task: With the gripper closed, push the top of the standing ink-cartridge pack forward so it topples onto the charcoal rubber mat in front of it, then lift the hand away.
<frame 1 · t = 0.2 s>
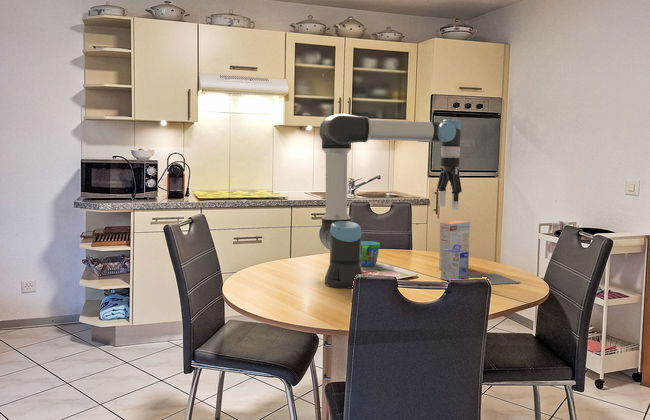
hand: (448, 207, 249), 28 cm above the table, fingers open, 13 cm apart
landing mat: (485, 279, 240), on the table
snack cup: (367, 265, 265), on the table
ink cartridge box: (453, 281, 237), on the table
cracker box: (453, 269, 261), on the table
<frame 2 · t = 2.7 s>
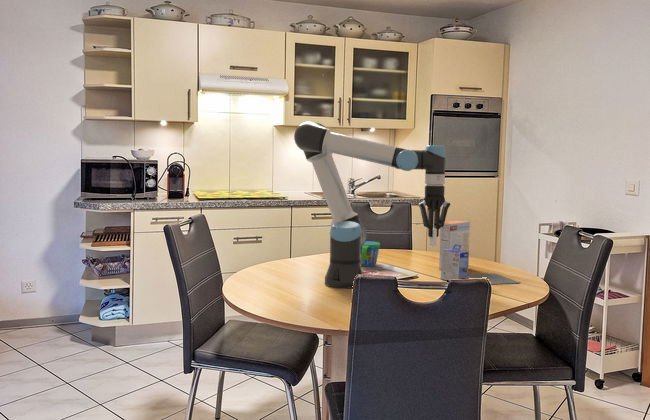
hand: (433, 245, 233), 15 cm above the table, fingers closed
nothing on the table moved.
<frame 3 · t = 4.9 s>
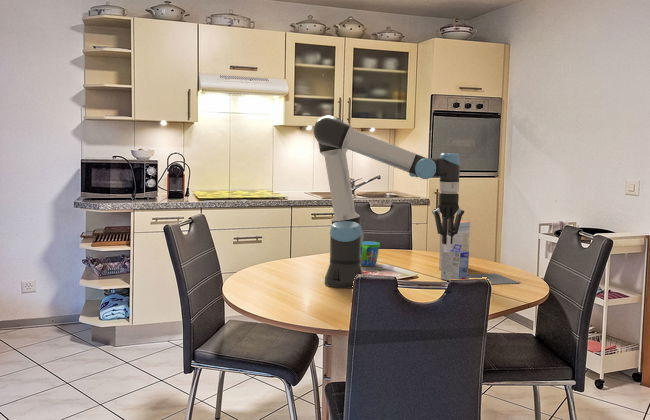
hand: (446, 252, 234), 12 cm above the table, fingers closed
ink cartridge box: (453, 281, 237), on the table, touching gripper
everything else where it was.
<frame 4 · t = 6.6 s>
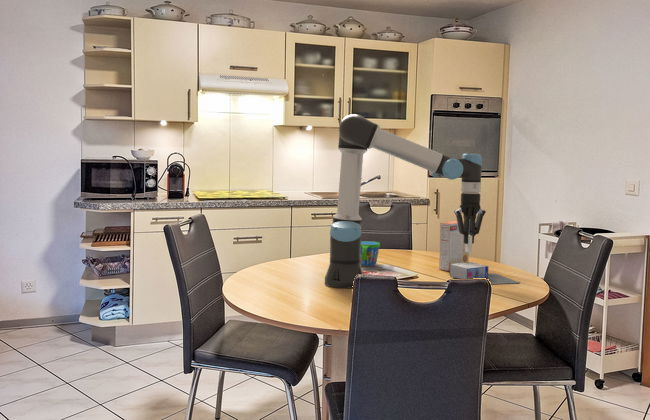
hand: (468, 251, 237), 12 cm above the table, fingers closed
ink cartridge box: (458, 273, 237), point 3 cm above the table, touching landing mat
everything else where it was.
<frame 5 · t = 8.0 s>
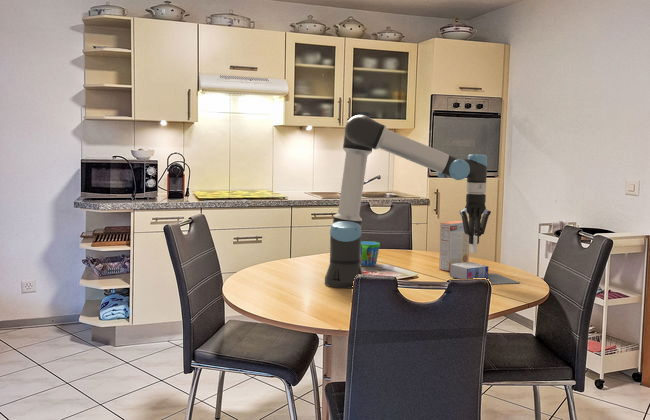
hand: (473, 251, 238), 11 cm above the table, fingers closed
nothing on the table moved.
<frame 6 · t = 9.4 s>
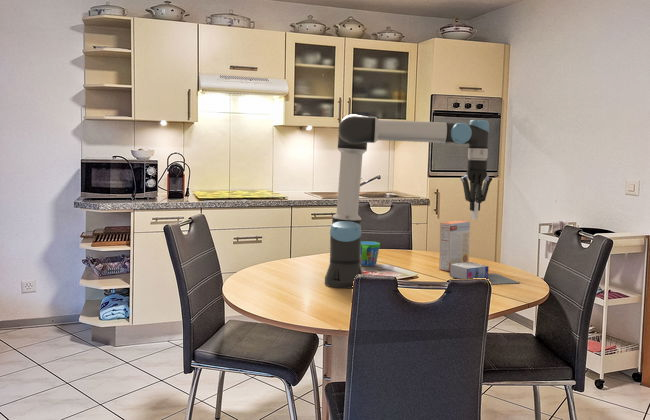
hand: (474, 218, 236), 25 cm above the table, fingers closed
nothing on the table moved.
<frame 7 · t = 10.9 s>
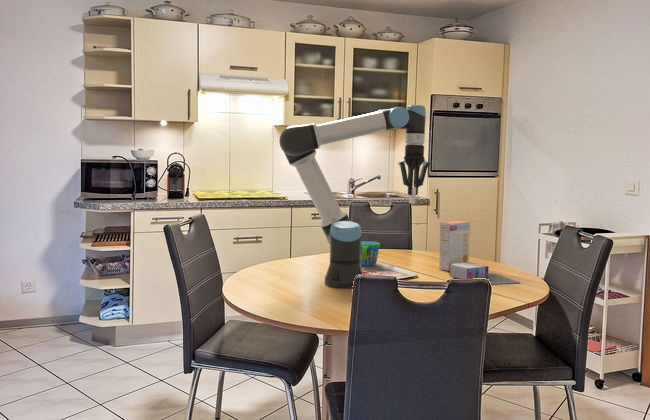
hand: (412, 203, 239), 30 cm above the table, fingers closed
nothing on the table moved.
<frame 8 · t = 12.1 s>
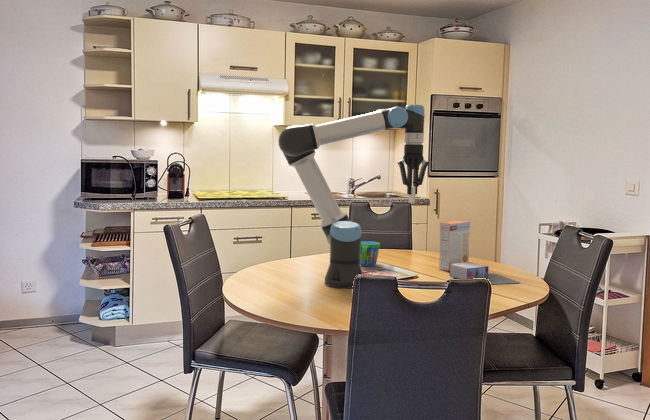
hand: (411, 202, 239), 30 cm above the table, fingers closed
nothing on the table moved.
at the end: ink cartridge box tilted 89°; ink cartridge box touching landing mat; ink cartridge box inside the target area (7.1 cm from its centre), point 2.9 cm above the table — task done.
